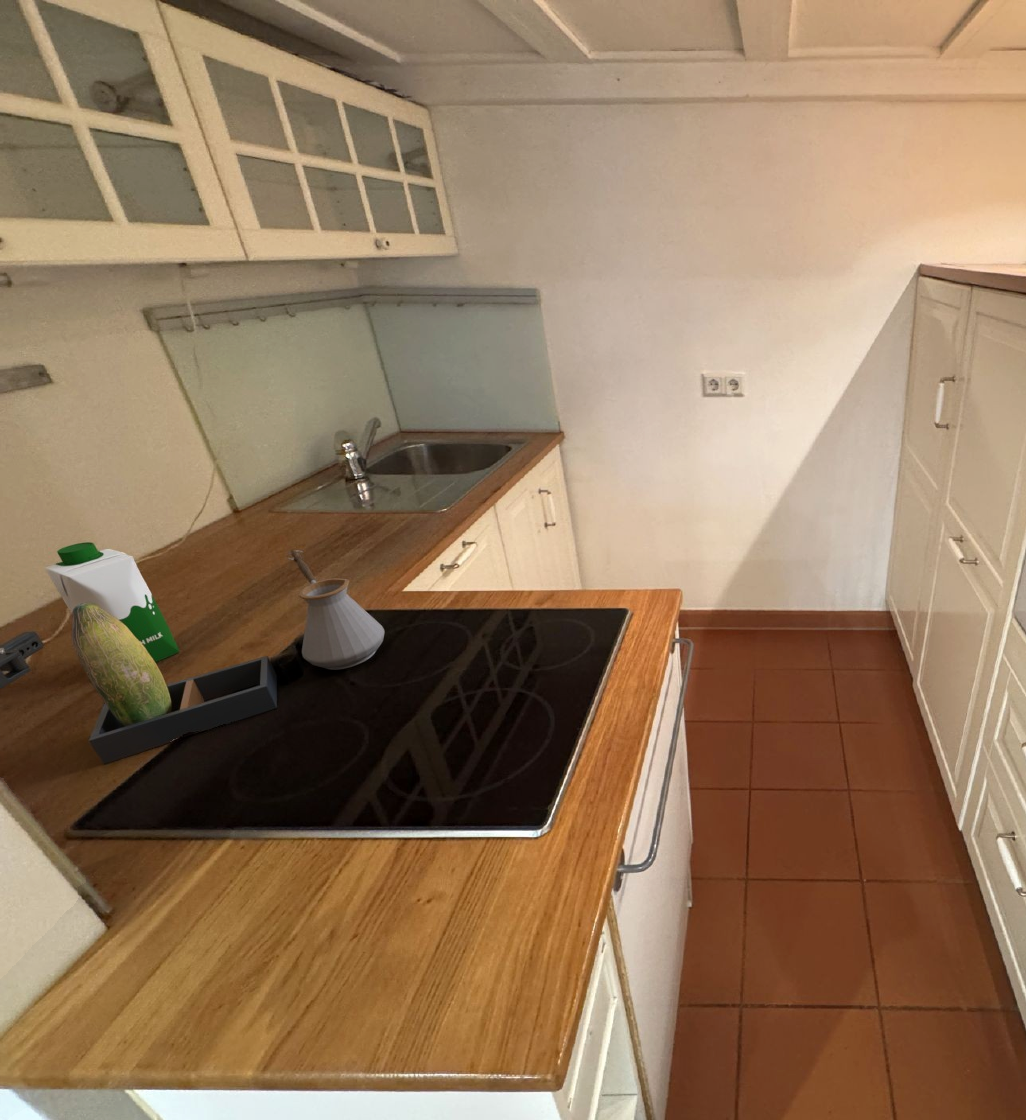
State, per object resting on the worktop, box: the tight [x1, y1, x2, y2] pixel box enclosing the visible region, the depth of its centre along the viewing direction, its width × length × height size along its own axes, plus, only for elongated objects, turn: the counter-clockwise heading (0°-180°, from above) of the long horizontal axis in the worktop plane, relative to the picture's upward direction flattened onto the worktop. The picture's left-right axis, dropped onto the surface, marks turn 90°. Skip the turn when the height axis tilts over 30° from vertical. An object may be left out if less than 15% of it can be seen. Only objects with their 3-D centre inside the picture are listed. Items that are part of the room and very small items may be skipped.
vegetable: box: [70, 603, 172, 727], centre depth 81 cm, size 6×6×20 cm
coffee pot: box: [286, 549, 386, 671], centre depth 100 cm, size 21×12×15 cm, turn 48°
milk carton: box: [44, 541, 180, 664], centre depth 97 cm, size 9×9×20 cm
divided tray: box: [88, 655, 278, 765], centre depth 87 cm, size 18×10×4 cm, turn 126°
